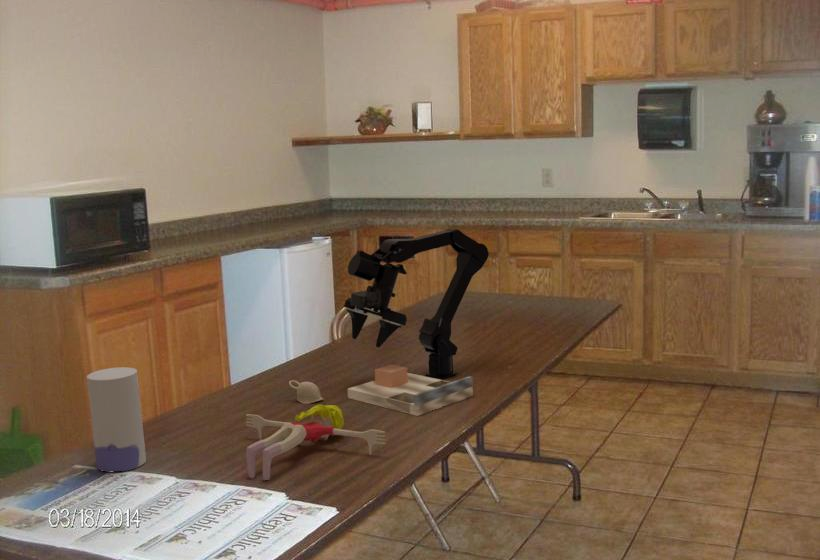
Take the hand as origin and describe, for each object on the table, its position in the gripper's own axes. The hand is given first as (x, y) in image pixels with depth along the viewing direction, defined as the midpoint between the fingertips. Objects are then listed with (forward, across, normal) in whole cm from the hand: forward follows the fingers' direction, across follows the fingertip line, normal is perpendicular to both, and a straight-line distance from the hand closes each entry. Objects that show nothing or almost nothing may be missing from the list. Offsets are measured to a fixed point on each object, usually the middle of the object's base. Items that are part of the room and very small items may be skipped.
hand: (365, 342), depth 233 cm
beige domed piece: (+19, -4, -10) cm, 21 cm away
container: (+38, 0, -59) cm, 70 cm away
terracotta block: (+8, +8, +6) cm, 13 cm away
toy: (+26, +26, -34) cm, 50 cm away
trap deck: (+10, +15, +6) cm, 19 cm away
